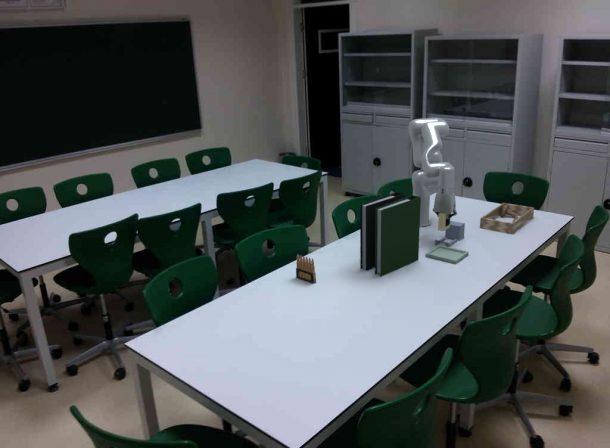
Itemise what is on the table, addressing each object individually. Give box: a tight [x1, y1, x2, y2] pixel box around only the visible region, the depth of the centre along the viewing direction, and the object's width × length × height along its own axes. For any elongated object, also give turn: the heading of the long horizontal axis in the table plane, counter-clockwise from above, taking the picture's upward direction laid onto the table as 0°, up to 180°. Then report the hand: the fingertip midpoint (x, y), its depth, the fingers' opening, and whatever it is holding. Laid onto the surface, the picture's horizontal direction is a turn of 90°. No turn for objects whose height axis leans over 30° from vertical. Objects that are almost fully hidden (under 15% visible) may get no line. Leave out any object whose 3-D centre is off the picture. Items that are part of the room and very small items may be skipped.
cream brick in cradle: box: [437, 213, 450, 232], centre depth 274 cm, size 3×7×9 cm, turn 140°
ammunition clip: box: [295, 253, 317, 284], centre depth 242 cm, size 11×2×12 cm, turn 48°
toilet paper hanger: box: [499, 205, 519, 223], centre depth 308 cm, size 25×9×8 cm, turn 151°
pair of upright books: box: [359, 191, 421, 278], centre depth 253 cm, size 27×15×32 cm, turn 132°
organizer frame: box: [479, 202, 535, 235], centre depth 306 cm, size 18×34×6 cm, turn 140°
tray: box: [424, 244, 469, 265], centre depth 264 cm, size 16×14×2 cm
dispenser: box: [434, 220, 466, 248], centre depth 282 cm, size 8×18×8 cm, turn 140°
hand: (444, 224), depth 274 cm, fingers closed on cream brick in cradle, 3 cm apart
